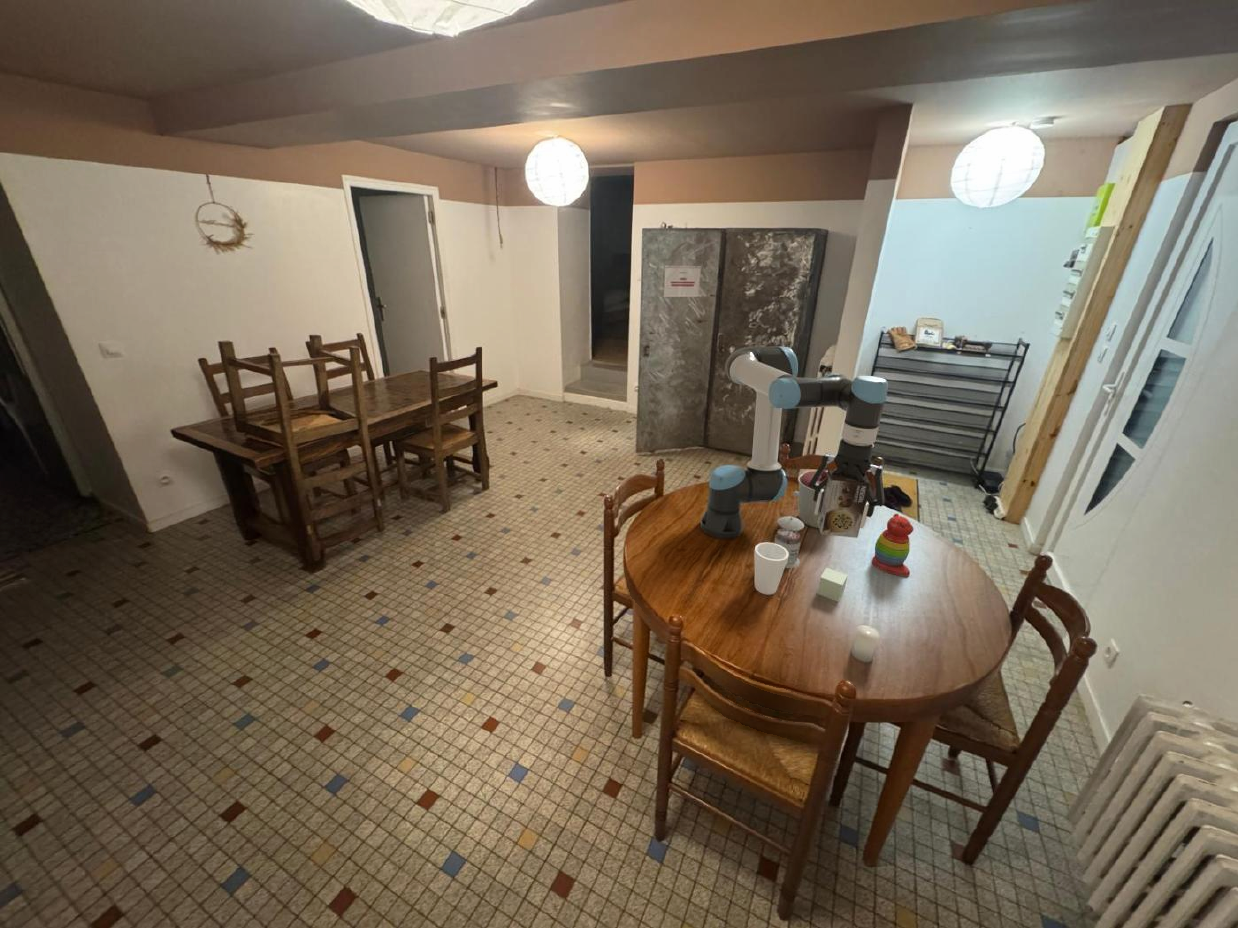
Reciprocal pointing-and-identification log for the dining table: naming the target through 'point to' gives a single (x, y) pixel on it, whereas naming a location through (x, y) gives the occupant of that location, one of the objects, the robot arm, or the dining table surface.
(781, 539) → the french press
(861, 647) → the white cylinder
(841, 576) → the sage block
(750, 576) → the dining table surface
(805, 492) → the canister
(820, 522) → the coffee box
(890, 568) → the stacking bear
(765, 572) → the foam cup
